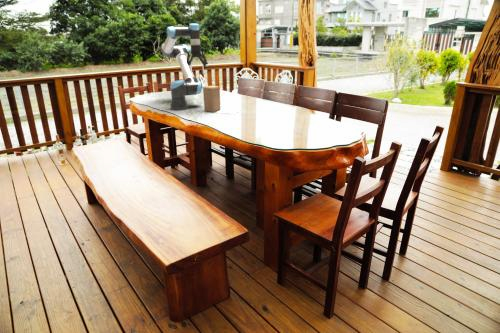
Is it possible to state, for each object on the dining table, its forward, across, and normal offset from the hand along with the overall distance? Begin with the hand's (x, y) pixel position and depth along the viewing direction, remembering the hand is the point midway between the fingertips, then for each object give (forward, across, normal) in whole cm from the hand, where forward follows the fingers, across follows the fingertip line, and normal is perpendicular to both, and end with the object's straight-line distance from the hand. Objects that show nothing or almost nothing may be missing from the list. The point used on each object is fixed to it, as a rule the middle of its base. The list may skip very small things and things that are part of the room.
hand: (197, 73), depth 266 cm
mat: (+30, +26, 0) cm, 40 cm away
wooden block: (+30, +12, 0) cm, 33 cm away
